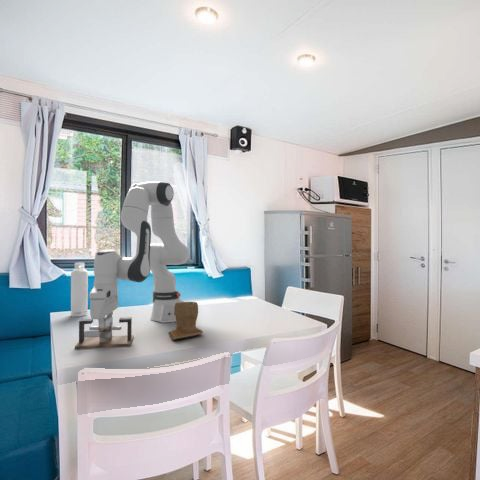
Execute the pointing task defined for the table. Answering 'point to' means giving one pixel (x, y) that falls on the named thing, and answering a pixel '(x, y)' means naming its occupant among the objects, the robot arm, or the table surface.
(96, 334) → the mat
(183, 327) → the brown upright based slab
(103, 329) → the grey crossbar piece
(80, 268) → the bottle
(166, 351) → the table surface
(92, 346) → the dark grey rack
